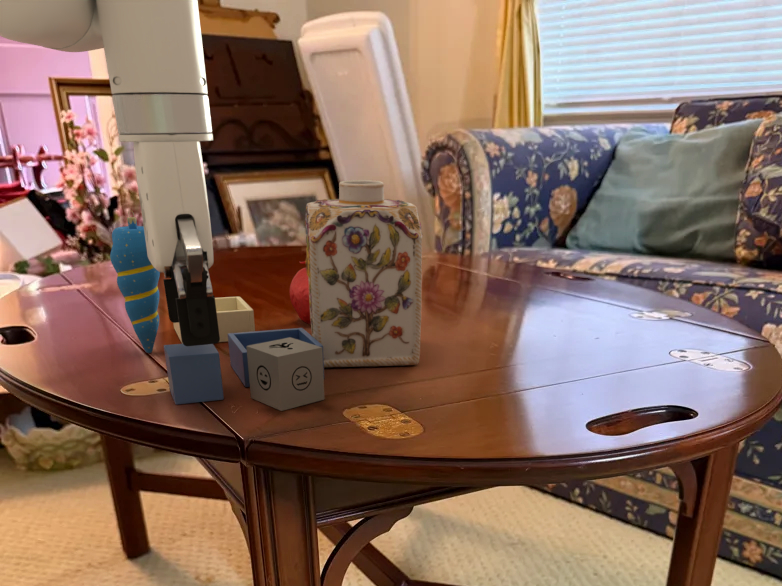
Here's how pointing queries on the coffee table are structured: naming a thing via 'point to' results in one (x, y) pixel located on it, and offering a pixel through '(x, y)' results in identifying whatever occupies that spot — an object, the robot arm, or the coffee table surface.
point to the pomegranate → (301, 294)
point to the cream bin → (230, 317)
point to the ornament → (137, 280)
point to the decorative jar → (364, 277)
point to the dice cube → (285, 373)
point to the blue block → (194, 373)
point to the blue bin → (249, 338)
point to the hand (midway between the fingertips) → (193, 331)
